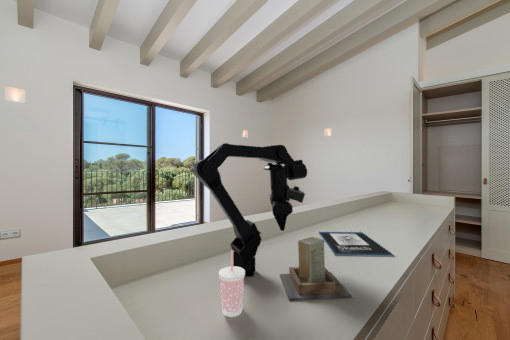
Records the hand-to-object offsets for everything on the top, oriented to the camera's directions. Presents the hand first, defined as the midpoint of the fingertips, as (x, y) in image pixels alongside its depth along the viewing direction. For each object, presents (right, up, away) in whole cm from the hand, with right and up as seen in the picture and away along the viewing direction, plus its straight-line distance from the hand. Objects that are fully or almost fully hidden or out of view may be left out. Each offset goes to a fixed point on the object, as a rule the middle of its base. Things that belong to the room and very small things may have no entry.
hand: (281, 225), depth 79 cm
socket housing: (+7, -13, -16) cm, 22 cm away
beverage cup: (-15, -13, -27) cm, 33 cm away
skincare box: (+7, -12, -16) cm, 22 cm away
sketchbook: (+33, -13, +20) cm, 40 cm away
